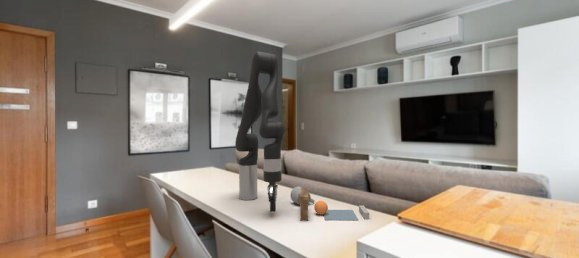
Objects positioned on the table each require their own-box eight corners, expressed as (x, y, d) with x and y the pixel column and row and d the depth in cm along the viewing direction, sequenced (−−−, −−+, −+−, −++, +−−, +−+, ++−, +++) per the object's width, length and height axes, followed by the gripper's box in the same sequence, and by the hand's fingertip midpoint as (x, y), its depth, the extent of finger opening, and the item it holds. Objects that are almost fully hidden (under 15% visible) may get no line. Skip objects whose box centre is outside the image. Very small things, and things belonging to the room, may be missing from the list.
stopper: (364, 219, 108) (364, 212, 108) (359, 211, 118) (359, 205, 118) (369, 219, 108) (369, 212, 108) (363, 211, 118) (363, 205, 118)
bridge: (300, 220, 107) (300, 196, 107) (300, 209, 122) (300, 188, 122) (308, 220, 107) (308, 196, 107) (307, 209, 122) (307, 188, 121)
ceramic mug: (297, 207, 125) (297, 190, 125) (290, 203, 132) (290, 187, 132) (317, 204, 129) (318, 188, 129) (309, 200, 137) (309, 185, 137)
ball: (312, 198, 116) (326, 196, 115) (314, 207, 119) (327, 205, 119) (314, 209, 111) (328, 207, 111) (315, 218, 114) (329, 216, 114)
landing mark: (324, 220, 107) (324, 219, 107) (322, 210, 120) (322, 209, 120) (358, 220, 107) (358, 219, 107) (352, 210, 120) (352, 209, 120)
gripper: (280, 172, 108) (280, 216, 108) (282, 167, 121) (283, 206, 121) (261, 172, 108) (261, 216, 108) (265, 167, 122) (266, 206, 122)
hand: (272, 211), depth 115 cm, fingers closed
